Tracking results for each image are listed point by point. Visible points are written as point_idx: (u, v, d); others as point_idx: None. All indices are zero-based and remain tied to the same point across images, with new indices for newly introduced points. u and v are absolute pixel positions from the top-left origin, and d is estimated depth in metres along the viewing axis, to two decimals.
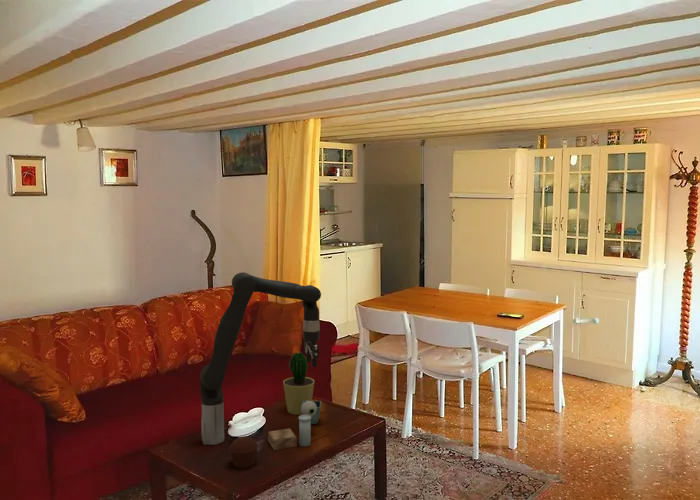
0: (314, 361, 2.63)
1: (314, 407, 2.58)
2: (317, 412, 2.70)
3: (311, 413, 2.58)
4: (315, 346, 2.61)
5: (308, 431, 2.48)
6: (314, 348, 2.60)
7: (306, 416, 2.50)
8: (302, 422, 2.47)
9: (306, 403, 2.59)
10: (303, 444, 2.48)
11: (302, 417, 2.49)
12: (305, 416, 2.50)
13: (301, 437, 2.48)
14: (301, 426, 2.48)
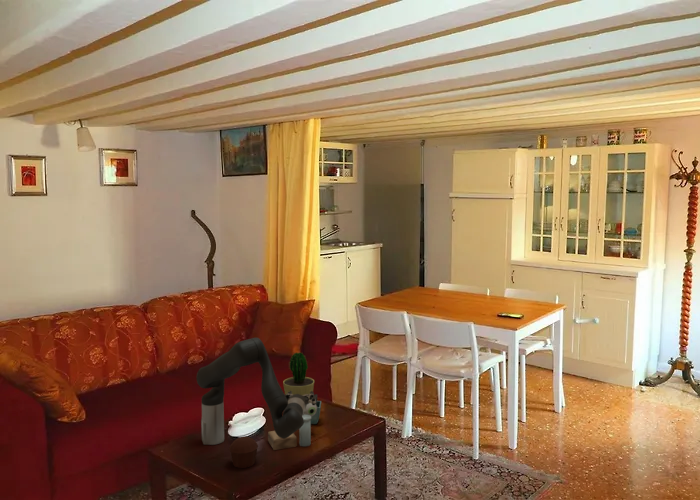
0: None
1: (314, 407, 2.58)
2: (317, 412, 2.70)
3: (311, 413, 2.58)
4: None
5: (308, 431, 2.48)
6: None
7: (306, 416, 2.50)
8: None
9: None
10: (303, 444, 2.48)
11: None
12: (305, 416, 2.50)
13: (301, 437, 2.48)
14: None
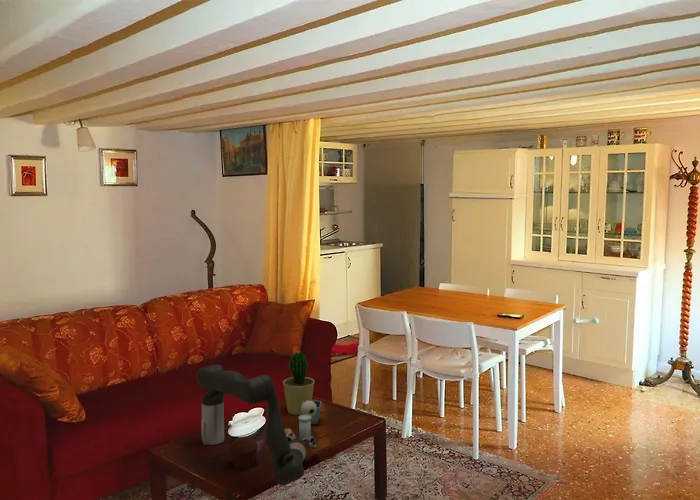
0: None
1: (314, 407, 2.58)
2: (317, 412, 2.70)
3: (311, 413, 2.58)
4: None
5: (308, 431, 2.48)
6: None
7: (306, 416, 2.50)
8: (302, 422, 2.47)
9: (306, 403, 2.59)
10: None
11: (302, 417, 2.49)
12: (305, 416, 2.50)
13: (301, 437, 2.48)
14: (301, 426, 2.48)
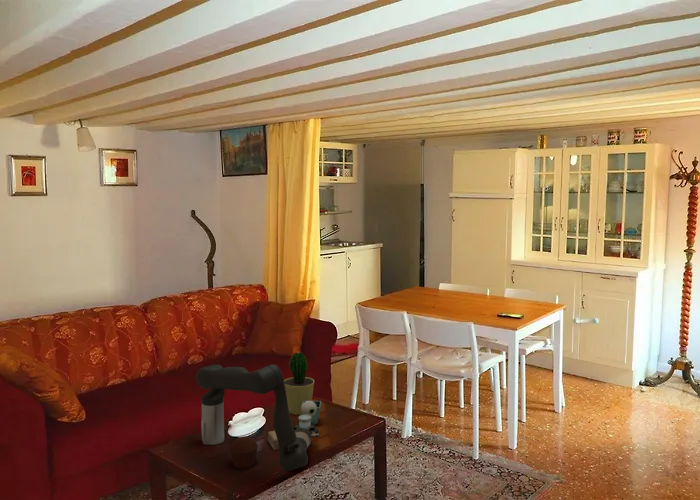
0: None
1: (314, 407, 2.58)
2: (317, 412, 2.70)
3: (311, 413, 2.58)
4: None
5: None
6: None
7: (306, 416, 2.50)
8: (302, 422, 2.47)
9: (306, 403, 2.59)
10: None
11: (302, 417, 2.49)
12: (305, 416, 2.50)
13: None
14: (301, 426, 2.48)
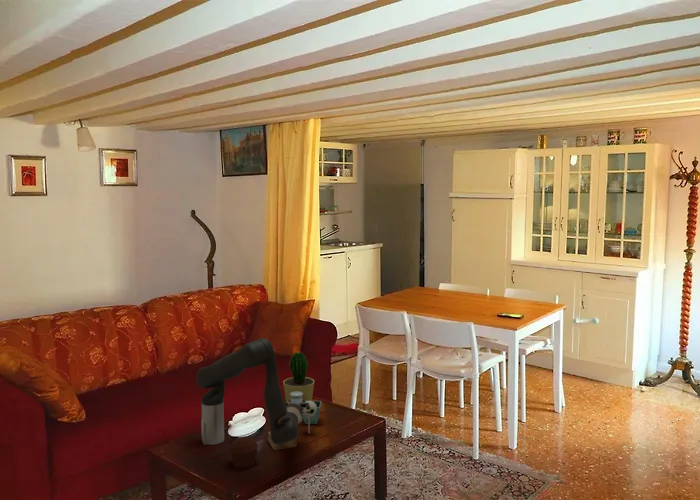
0: (287, 402, 2.50)
1: (314, 407, 2.58)
2: (317, 412, 2.70)
3: (311, 413, 2.58)
4: None
5: None
6: None
7: (298, 393, 2.49)
8: (294, 398, 2.47)
9: None
10: None
11: (294, 393, 2.48)
12: (297, 393, 2.50)
13: None
14: (293, 402, 2.47)
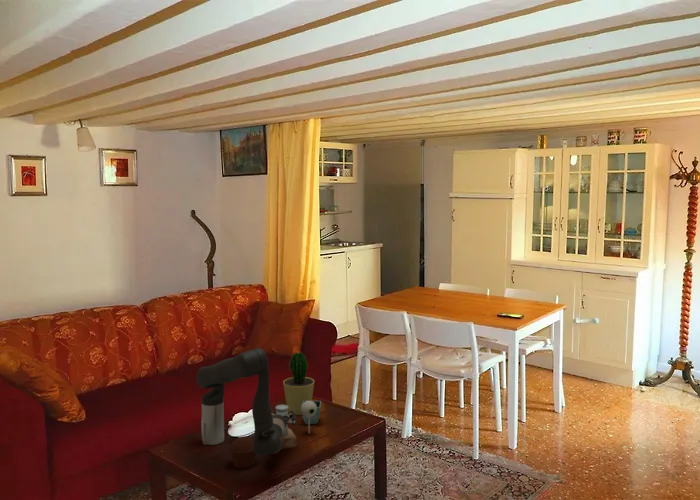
0: None
1: (314, 407, 2.58)
2: (317, 412, 2.70)
3: (311, 413, 2.58)
4: None
5: None
6: None
7: (283, 406, 2.50)
8: (279, 412, 2.47)
9: (306, 403, 2.59)
10: None
11: (279, 407, 2.49)
12: (282, 406, 2.50)
13: None
14: None
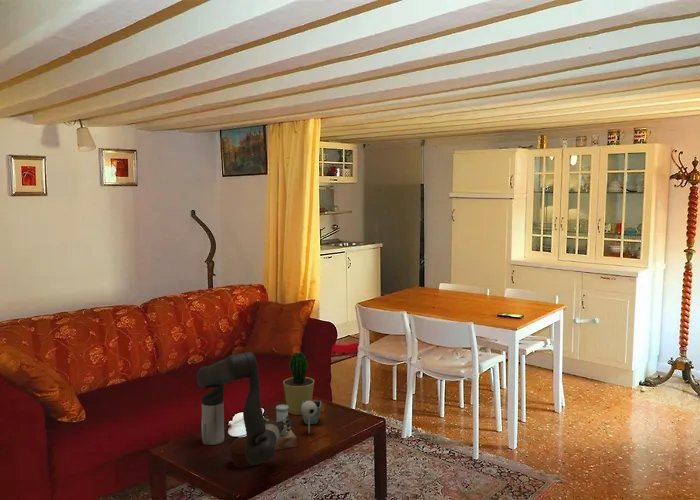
0: None
1: (314, 407, 2.58)
2: (317, 412, 2.70)
3: (311, 413, 2.58)
4: None
5: None
6: None
7: (284, 406, 2.50)
8: (279, 412, 2.47)
9: (306, 403, 2.59)
10: (280, 434, 2.48)
11: (279, 407, 2.49)
12: (282, 406, 2.50)
13: None
14: (278, 416, 2.48)
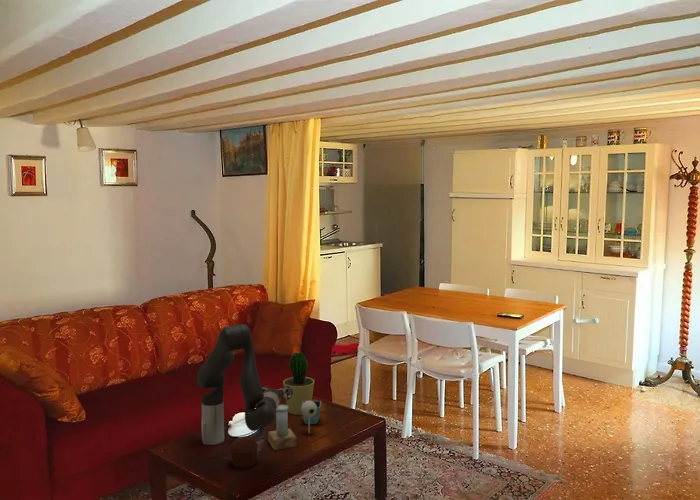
0: None
1: (314, 407, 2.58)
2: (317, 412, 2.70)
3: (311, 413, 2.58)
4: None
5: (285, 421, 2.48)
6: None
7: (283, 406, 2.49)
8: (279, 412, 2.47)
9: (306, 403, 2.59)
10: (280, 434, 2.48)
11: (279, 407, 2.48)
12: (282, 406, 2.50)
13: (278, 427, 2.48)
14: (278, 416, 2.47)
